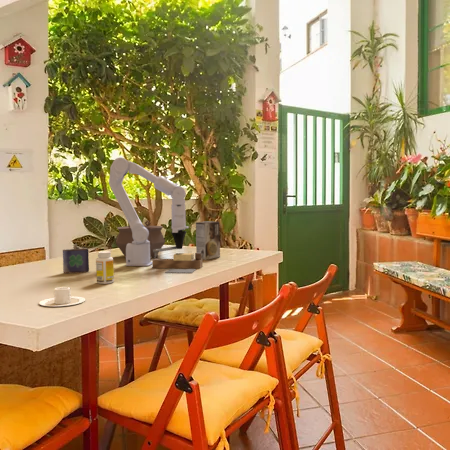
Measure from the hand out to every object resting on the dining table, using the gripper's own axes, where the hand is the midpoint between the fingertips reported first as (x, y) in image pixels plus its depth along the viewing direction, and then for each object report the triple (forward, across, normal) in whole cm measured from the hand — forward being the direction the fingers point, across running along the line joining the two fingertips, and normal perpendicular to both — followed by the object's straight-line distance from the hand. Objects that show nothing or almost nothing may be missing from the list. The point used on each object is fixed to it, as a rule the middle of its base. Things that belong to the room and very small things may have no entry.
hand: (179, 248), depth 205 cm
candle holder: (+7, -73, +16) cm, 75 cm away
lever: (+3, -4, +4) cm, 6 cm away
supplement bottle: (+6, -44, +15) cm, 47 cm away
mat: (+6, -20, -5) cm, 21 cm away
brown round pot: (+6, +21, +23) cm, 32 cm away
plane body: (+6, -10, -2) cm, 12 cm away
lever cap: (+3, -10, -4) cm, 11 cm away
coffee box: (+6, +18, -9) cm, 21 cm away
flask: (+6, -24, +34) cm, 42 cm away
